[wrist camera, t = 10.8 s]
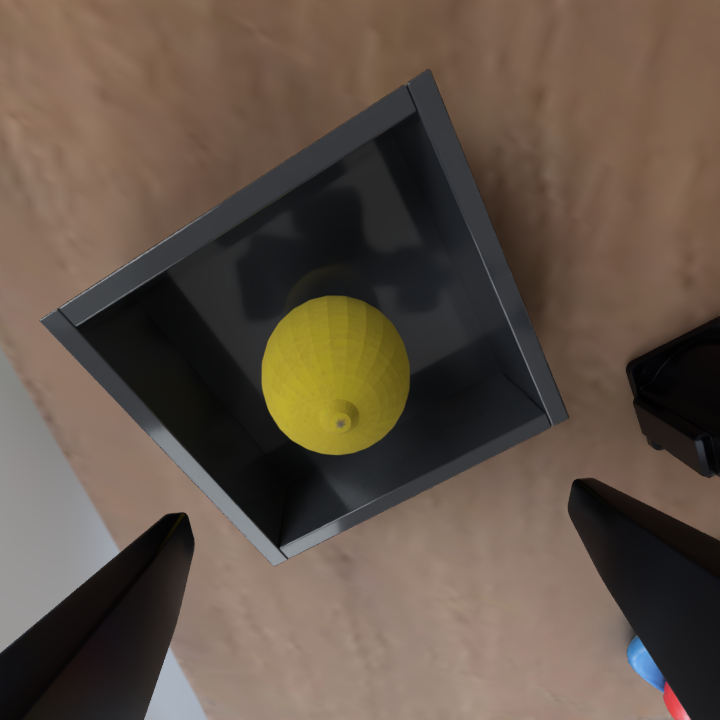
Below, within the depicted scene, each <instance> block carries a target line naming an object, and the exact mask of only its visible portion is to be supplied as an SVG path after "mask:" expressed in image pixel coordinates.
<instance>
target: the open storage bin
mask: <svg viewBox="0 0 720 720" xmlns="http://www.w3.org/2000/svg"><path fill="white" fill-rule="evenodd" d="M324 296H347V297H351V298H355V299H358V300H362V301H364V302H366V303H368V304H369V305H371V306H373V307H375V308H376V309H378V310H379V311H380V312H381V313H382V314H383V315H384V316H385V317H386V318H387V319H389V320H390V321H391V322H392V324H393V325H394V327H395V328H396V330H397V332H398V333H399V335H400V337H401V338H402V340H403V342H404V345H405V349H406V352H407V356H408V360H409V364H410V386H409V393H408V396H407V400H406V403H405V407H404V410H403V412H402V414H401V415H400V417H399V419H398V420H397V422H396V424H395V426H394V427H393V428H392V429H391V430H390V431H389V432H388V433H387V434H386V435H385V436H384V437H383V438H382V439H381V440H379V441H378V442H376V443H374V444H373V445H371V446H370V447H368V448H366V449H363V450H360V451H357V452H355V453H350V454H342V455H331V454H321V453H318V452H315V451H312V450H308V449H306V448H305V447H303V446H301V445H299V444H298V443H296V442H294V441H292V440H291V439H290V438H289V437H288V436H287V435H286V434H285V433H284V432H283V431H282V430H281V429H280V428H279V427H278V425H277V424H276V422H275V420H274V419H273V417H272V416H271V414H270V412H269V410H268V407H267V404H266V400H265V397H264V393H263V389H262V360H263V357H264V353H265V350H266V346H267V342H268V340H269V338H270V336H271V335H272V333H273V331H274V330H275V328H276V327H277V325H278V323H279V322H280V321H281V320H282V319H283V318H284V317H285V316H286V315H287V314H289V313H290V312H291V311H292V310H293V309H294V308H296V307H298V306H300V305H302V304H303V303H305V302H307V301H309V300H311V299H316V298H320V297H324ZM40 322H41V323H42V324H43V325H44V326H45V327H46V328H47V329H48V330H49V331H50V332H51V333H52V334H53V336H54V337H55V338H56V339H57V340H58V341H59V342H60V343H61V344H62V345H63V346H64V347H65V348H66V349H67V350H68V351H69V352H70V353H71V354H72V355H73V356H74V358H75V359H76V360H77V361H78V362H79V363H80V364H81V365H82V366H83V367H84V368H85V369H86V370H87V371H88V372H89V373H90V374H91V375H92V376H93V377H94V379H95V380H96V381H97V382H98V383H99V384H100V385H101V386H102V387H103V388H104V389H105V390H106V391H107V392H108V393H109V394H110V395H111V396H112V397H113V398H114V399H115V401H116V402H117V403H118V404H119V405H120V406H121V407H122V408H123V409H124V410H125V411H126V412H127V413H128V414H129V415H130V416H131V417H132V418H133V419H134V420H135V422H136V423H137V424H138V425H139V426H140V427H141V428H142V429H143V430H144V431H145V432H146V433H147V434H148V435H149V436H150V437H151V438H152V439H153V440H154V441H155V442H156V444H157V445H158V446H159V447H160V448H161V449H162V450H163V451H164V452H165V453H166V454H167V455H168V456H169V457H170V458H171V459H172V460H173V461H174V462H175V463H176V465H177V466H178V467H179V468H180V469H181V470H182V471H183V472H184V473H185V474H186V475H187V476H188V477H189V478H190V479H191V480H192V481H193V482H194V483H195V484H196V485H197V487H198V488H199V489H200V490H201V491H202V492H203V493H204V494H205V495H206V496H207V497H208V498H209V499H210V500H211V501H212V502H213V503H214V504H215V505H216V506H217V508H218V509H219V510H220V511H221V512H222V513H223V514H224V515H225V516H226V517H227V518H228V519H229V520H230V521H231V522H232V523H233V524H234V525H235V526H236V527H237V528H238V530H239V531H240V532H241V533H242V534H243V535H244V536H245V537H246V538H247V539H248V540H249V541H250V542H251V543H252V544H253V545H254V546H255V547H256V548H257V549H258V551H259V552H260V553H261V554H262V555H263V556H264V557H265V558H266V559H267V560H268V561H269V562H270V563H271V564H272V565H273V566H276V565H278V564H280V563H282V562H284V561H286V560H288V558H292V557H294V556H296V555H298V554H300V553H302V552H304V551H306V550H308V549H310V548H312V547H314V546H316V545H318V544H320V543H322V542H324V541H326V540H328V539H330V538H332V537H334V536H336V535H338V534H340V533H342V532H344V531H346V530H348V529H350V528H352V527H354V526H356V525H358V524H360V523H362V522H364V521H366V520H368V519H370V518H371V517H373V516H375V515H377V514H379V513H381V512H383V511H385V510H387V509H389V508H391V507H393V506H395V505H397V504H399V503H401V502H403V501H405V500H407V499H409V498H411V497H413V496H415V495H417V494H419V493H421V492H423V491H425V490H427V489H429V488H431V487H433V486H435V485H437V484H439V483H441V482H443V481H445V480H447V479H449V478H451V477H453V476H455V475H457V474H459V473H461V472H463V471H465V470H467V469H469V468H471V467H473V466H475V465H477V464H479V463H481V462H483V461H485V460H487V459H489V458H491V457H493V456H495V455H497V454H499V453H501V452H503V451H505V450H507V449H509V448H511V447H513V446H515V445H517V444H519V443H521V442H523V441H525V440H527V439H529V438H531V437H533V436H535V435H537V434H539V433H541V432H543V431H545V430H547V429H549V428H551V425H552V426H555V425H557V424H559V423H561V422H563V421H565V420H567V419H568V418H569V415H568V413H567V410H566V408H565V405H564V403H563V400H562V398H561V395H560V393H559V390H558V388H557V385H556V383H555V380H554V378H553V375H552V373H551V370H550V368H549V365H548V363H547V360H546V358H545V355H544V353H543V350H542V348H541V345H540V343H539V340H538V338H537V335H536V333H535V330H534V328H533V325H532V323H531V320H530V318H529V315H528V313H527V310H526V308H525V305H524V303H523V300H522V298H521V295H520V293H519V290H518V288H517V285H516V283H515V280H514V278H513V275H512V273H511V270H510V267H509V265H508V262H507V260H506V257H505V255H504V252H503V250H502V247H501V245H500V242H499V240H498V237H497V235H496V232H495V230H494V227H493V225H492V222H491V220H490V217H489V215H488V212H487V210H486V207H485V205H484V202H483V200H482V197H481V195H480V192H479V190H478V187H477V185H476V182H475V180H474V177H473V175H472V172H471V170H470V167H469V165H468V162H467V160H466V157H465V155H464V152H463V150H462V147H461V145H460V142H459V140H458V137H457V135H456V132H455V130H454V127H453V125H452V122H451V120H450V117H449V115H448V112H447V110H446V107H445V105H444V102H443V100H442V97H441V95H440V92H439V90H438V87H437V85H436V82H435V79H434V77H433V74H432V72H431V70H430V69H427V70H425V71H424V72H422V73H421V74H419V75H418V76H416V77H414V78H413V79H411V80H410V81H408V83H407V84H406V85H402V86H400V87H399V88H397V89H396V90H394V91H393V92H391V93H390V94H388V95H386V96H385V97H383V98H382V99H380V100H379V101H377V102H376V103H374V104H373V105H371V106H369V107H368V108H366V109H365V110H363V111H362V112H360V113H359V114H357V115H356V116H354V117H352V118H351V119H349V120H348V121H346V122H345V123H343V124H342V125H340V126H339V127H337V128H335V129H334V130H332V131H331V132H329V133H328V134H326V135H325V136H323V137H321V138H320V139H318V140H317V141H315V142H314V143H312V144H311V145H309V146H308V147H306V148H304V149H303V150H301V151H300V152H298V153H297V154H295V155H294V156H292V157H291V158H289V159H287V160H286V161H284V162H283V163H281V164H280V165H278V166H277V167H275V168H274V169H272V170H270V171H269V172H267V173H266V174H264V175H263V176H261V177H260V178H258V179H257V180H255V181H253V182H252V183H250V184H249V185H247V186H246V187H244V188H243V189H241V190H240V191H238V192H236V193H235V194H233V195H232V196H230V197H229V198H227V199H226V200H224V201H223V202H221V203H219V204H218V205H216V206H215V207H213V208H212V209H210V210H209V211H207V212H206V213H204V214H202V215H201V216H199V217H198V218H196V219H195V220H193V221H192V222H190V223H189V224H187V225H185V226H184V227H182V228H181V229H179V230H178V231H176V232H175V233H173V234H172V235H170V236H168V237H167V238H165V239H164V240H162V241H161V242H159V243H158V244H156V245H154V246H153V247H151V248H150V249H148V250H147V251H145V252H144V253H142V254H141V255H139V256H137V257H136V258H134V259H133V260H131V261H130V262H128V263H127V264H125V265H124V266H122V267H120V268H119V269H117V270H116V271H114V272H113V273H111V274H110V275H108V276H107V277H105V278H103V279H102V280H100V281H99V282H97V283H96V284H94V285H93V286H91V287H90V288H88V289H86V290H85V291H83V292H82V293H80V294H79V295H77V296H76V297H74V298H73V299H71V300H69V301H68V302H66V303H65V304H63V305H62V306H60V308H57V309H55V310H54V311H52V312H51V313H49V314H48V315H46V316H45V317H43V318H41V319H40Z"/></svg>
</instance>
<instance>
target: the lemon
mask: <svg viewBox="0 0 720 720" xmlns="http://www.w3.org/2000/svg"><path fill="white" fill-rule="evenodd" d="M409 386H410V364H409V360H408V356H407V352H406V349H405V345H404V342H403V340H402V338H401V337H400V335H399V333H398V332H397V330H396V328H395V327H394V325H393V324H392V322H391V321H390V320H389V319H387V318H386V317H385V316H384V315H383V314H382V313H381V312H380V311H379V310H378V309H376V308H375V307H373V306H371V305H369V304H368V303H366V302H364V301H362V300H358V299H355V298H351V297H347V296H324V297H320V298H316V299H311V300H309V301H307V302H305V303H303V304H302V305H300V306H298V307H296V308H294V309H293V310H292V311H291V312H290V313H289V314H287V315H286V316H285V317H284V318H283V319H282V320H281V321H280V322H279V323H278V325H277V327H276V328H275V330H274V331H273V333H272V335H271V336H270V338H269V340H268V342H267V346H266V350H265V353H264V357H263V360H262V389H263V393H264V397H265V400H266V404H267V407H268V410H269V412H270V414H271V416H272V417H273V419H274V420H275V422H276V424H277V425H278V427H279V428H280V429H281V430H282V431H283V432H284V433H285V434H286V435H287V436H288V437H289V438H290V439H291V440H292V441H294V442H296V443H298V444H299V445H301V446H303V447H305V448H306V449H308V450H312V451H315V452H318V453H321V454H331V455H342V454H350V453H355V452H357V451H360V450H363V449H366V448H368V447H370V446H371V445H373V444H374V443H376V442H378V441H379V440H381V439H382V438H383V437H384V436H385V435H386V434H387V433H388V432H389V431H390V430H391V429H392V428H393V427H394V426H395V424H396V422H397V420H398V419H399V417H400V415H401V414H402V412H403V410H404V407H405V403H406V400H407V396H408V393H409Z"/></svg>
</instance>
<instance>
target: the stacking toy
mask: <svg viewBox="0 0 720 720" xmlns="http://www.w3.org/2000/svg"><path fill="white" fill-rule="evenodd" d="M627 657H628V663H629V664H630V665H631V666H632V668H633V669H634V670H635V671H636V672H637V673H638V674H639V675H640V676H641V677H642V678H643V679H645V680H646V681H647V682H649V683H650V684H651V685H653V686H654V687H655V688H657V689H659V690H660V691H662V692H664V702H665V704H666V706H667V709H668V710H669V712H670V714H671V715H672V716H673V718H674V719H675V720H690V718H689V716H688V715H687V713H686V712H685V710H684V708H683V707H682V705H681V704H680V702H679V701H678V699H677V697H676V696H675V694H674V693H673V691H672V689H671V688H670V686H669V685H668V683H667V682H666V680H665V678H664V677H663V675H662V674H661V672H660V671H659V669H658V667H657V666H656V664H655V663H654V661H653V659H652V658H651V656H650V655H649V653H648V652H647V650H646V648H645V647H644V645H643V644H642V642H641V641H640V639H639V637H638V636H637V635H636V636H635V637H634V638H633V639H632V641H631V642H630V644H629V646H628V649H627Z"/></svg>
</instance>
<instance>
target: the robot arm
mask: <svg viewBox="0 0 720 720" xmlns="http://www.w3.org/2000/svg"><path fill="white" fill-rule="evenodd" d="M638 367H639V369H638V370H637V371H636V369H637V368H638ZM626 373H627V376H628V380H629V383H630V386H631V389H632V393H633V396H634V400H633V405H634V408H635V411H636V414H637V418H638V421H639V424H640V427H641V430H642V433H643V434H644V435H645V436H646V438H647V441H648V444H649V445H650V446H651V447H653V448H654V449H656V450H662V449H665V450H666V451H668V452H669V453H671V454H672V455H673V456H675V457H676V458H678V459H679V460H680V461H682V462H683V463H685V464H686V465H687V466H689V467H690V468H692V469H693V470H695V471H696V472H697V473H699V474H700V475H702V476H705V477H708V478H711V477H713V476H715V475H717V476H718V477H720V316H719V317H717V318H715V319H713V320H711V321H709V322H707V323H705V324H703V325H701V326H699V327H697V328H695V329H693V330H691V331H689V332H687V333H685V334H683V335H682V336H680V337H678V338H676V339H674V340H672V341H670V342H668V343H666V344H664V345H662V346H660V347H658V348H656V349H654V350H652V351H650V352H648V353H646V354H644V355H642V356H640V357H638V358H636V359H634V360H632V361H631V362H630V363H629V364H628V365H627V367H626ZM568 513H569V516H570V518H571V520H572V522H573V524H574V526H575V528H576V530H577V532H578V534H579V536H580V538H581V540H582V542H583V544H584V546H585V548H586V550H587V551H588V553H589V555H590V557H591V559H592V561H593V563H594V565H595V567H596V569H597V571H598V573H599V574H600V576H601V578H602V580H603V582H604V583H605V585H606V587H607V588H608V590H609V592H610V593H611V595H612V596H613V598H614V599H615V601H616V603H617V604H618V606H619V607H620V609H621V610H622V612H623V614H624V615H625V617H626V618H627V620H628V622H629V623H630V625H631V626H632V628H633V629H634V631H635V633H636V634H637V636H638V637H639V639H640V641H641V642H642V644H643V645H644V647H645V648H646V650H647V652H648V653H649V655H650V656H651V658H652V659H653V661H654V663H655V664H656V666H657V667H658V669H659V671H660V672H661V674H662V675H663V677H664V678H665V680H666V682H667V683H668V685H669V686H670V688H671V689H672V691H673V693H674V694H675V696H676V697H677V699H678V701H679V702H680V704H681V705H682V707H683V708H684V710H685V712H686V713H687V715H688V716H689V718H690V720H720V541H719V540H717V539H715V538H713V537H711V536H709V535H707V534H705V533H703V532H701V531H699V530H697V529H695V528H693V527H691V526H689V525H687V524H685V523H683V522H681V521H679V520H677V519H675V518H673V517H671V516H669V515H667V514H665V513H663V512H661V511H659V510H657V509H655V508H653V507H651V506H649V505H647V504H645V503H642V502H640V501H638V500H636V499H634V498H632V497H630V496H628V495H626V494H624V493H622V492H620V491H618V490H616V489H614V488H612V487H610V486H608V485H606V484H604V483H602V482H600V481H598V480H596V479H594V478H581V479H576V480H574V481H573V483H572V487H571V492H570V497H569V502H568ZM194 544H195V543H194V537H193V533H192V529H191V525H190V522H189V518H188V516H187V514H186V513H183V512H181V513H170V514H166V515H165V516H163V517H162V518H161V519H160V520H158V521H157V522H156V523H155V524H154V525H152V526H151V527H150V528H149V529H148V530H147V531H145V532H144V533H143V534H142V535H141V536H139V537H138V538H137V539H136V540H135V541H133V542H132V543H131V544H130V545H129V546H127V547H126V548H125V549H124V550H123V551H121V552H120V553H119V554H118V555H117V556H116V557H114V558H113V559H112V560H111V561H110V562H108V563H107V564H106V565H105V566H104V567H102V568H101V569H100V570H99V571H98V572H96V573H95V574H94V575H93V576H92V577H90V578H89V579H88V580H87V581H86V582H85V583H84V584H82V585H81V586H80V587H79V588H77V589H76V590H75V591H74V592H73V593H71V594H70V595H69V596H68V597H67V598H65V599H64V600H63V601H62V602H61V603H60V604H58V605H57V606H56V607H55V608H54V609H53V610H51V611H50V612H49V613H48V614H46V615H45V616H44V617H43V618H42V619H40V620H39V621H38V622H37V623H36V624H35V625H33V626H32V627H31V628H30V629H29V630H27V631H26V632H25V633H24V634H23V635H21V636H20V637H19V638H18V639H17V640H15V641H14V642H13V643H12V644H11V645H9V646H8V647H7V648H6V649H5V650H4V651H2V652H1V653H0V720H144V718H145V715H146V712H147V709H148V706H149V703H150V700H151V697H152V694H153V692H154V689H155V686H156V683H157V680H158V677H159V674H160V671H161V668H162V665H163V662H164V659H165V656H166V653H167V650H168V648H169V645H170V642H171V639H172V636H173V633H174V630H175V627H176V624H177V620H178V616H179V612H180V608H181V604H182V599H183V595H184V591H185V587H186V582H187V578H188V574H189V570H190V565H191V561H192V557H193V553H194Z"/></svg>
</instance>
